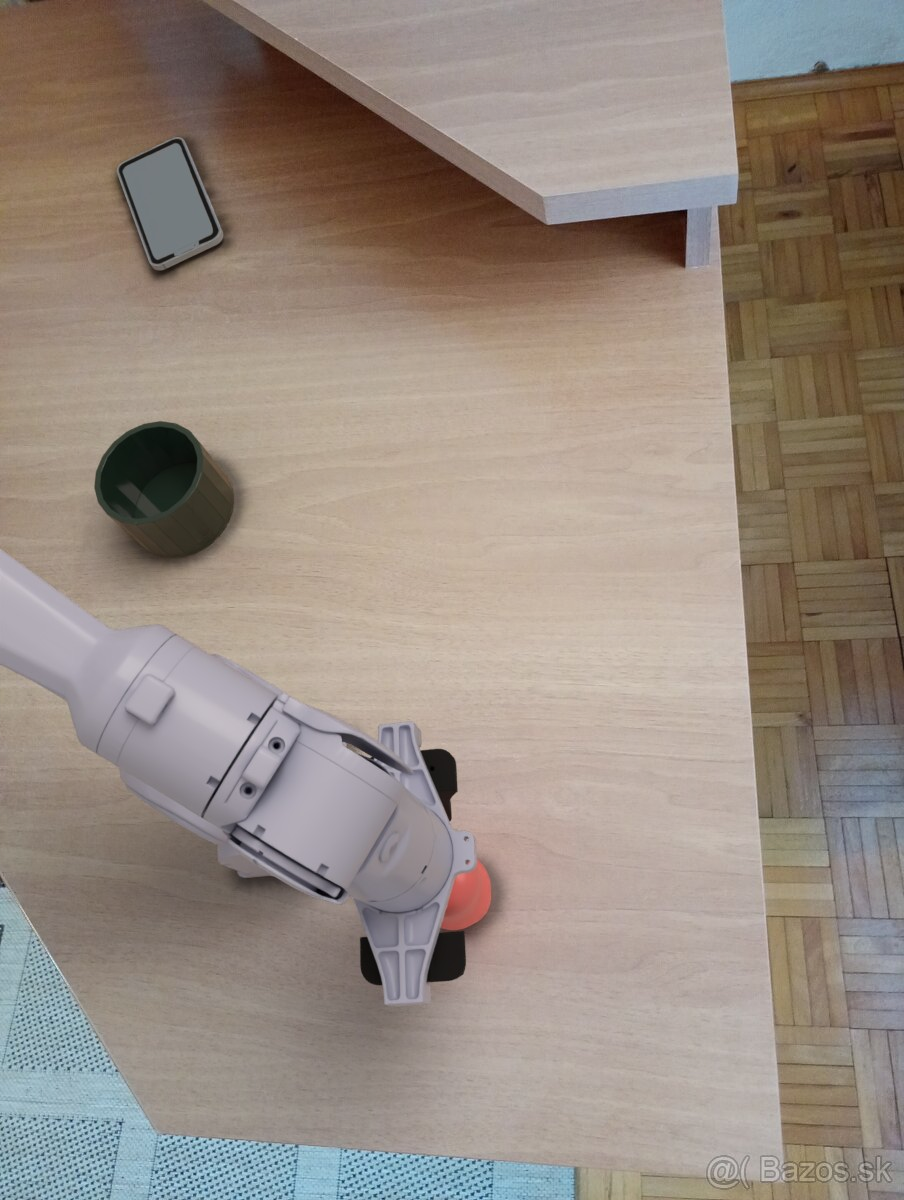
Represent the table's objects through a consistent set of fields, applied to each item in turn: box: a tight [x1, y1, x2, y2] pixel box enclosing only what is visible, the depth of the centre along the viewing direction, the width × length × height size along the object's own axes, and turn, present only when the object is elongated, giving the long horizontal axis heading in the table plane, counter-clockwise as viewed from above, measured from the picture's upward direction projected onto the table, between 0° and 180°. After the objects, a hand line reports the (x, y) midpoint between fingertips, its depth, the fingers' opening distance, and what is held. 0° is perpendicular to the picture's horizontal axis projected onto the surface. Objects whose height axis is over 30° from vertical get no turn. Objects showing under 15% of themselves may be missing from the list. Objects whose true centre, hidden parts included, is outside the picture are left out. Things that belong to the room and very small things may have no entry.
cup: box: [93, 420, 235, 559], centre depth 86 cm, size 9×9×6 cm
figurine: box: [440, 859, 492, 931], centre depth 65 cm, size 5×5×15 cm
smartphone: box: [116, 136, 224, 271], centre depth 102 cm, size 7×1×15 cm
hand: (437, 880), depth 64 cm, fingers open, 7 cm apart
